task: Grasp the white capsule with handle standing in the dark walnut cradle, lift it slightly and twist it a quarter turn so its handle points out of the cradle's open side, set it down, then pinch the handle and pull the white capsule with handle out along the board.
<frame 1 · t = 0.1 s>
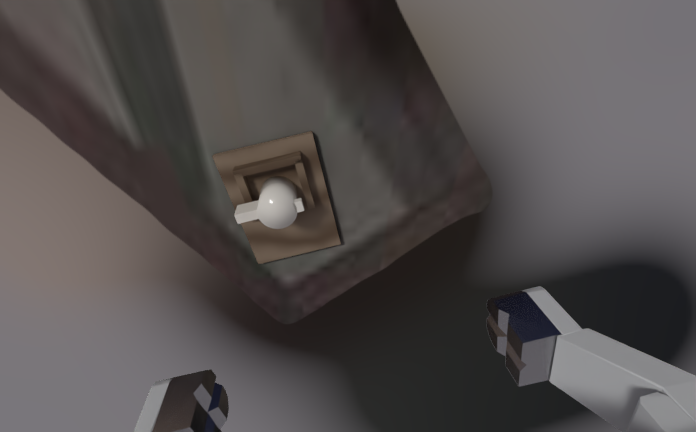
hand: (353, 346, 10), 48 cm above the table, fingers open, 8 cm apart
white capsule with handle: (279, 192, 58), point 1 cm above the table, touching cradle board
cradle board: (281, 197, 60), on the table
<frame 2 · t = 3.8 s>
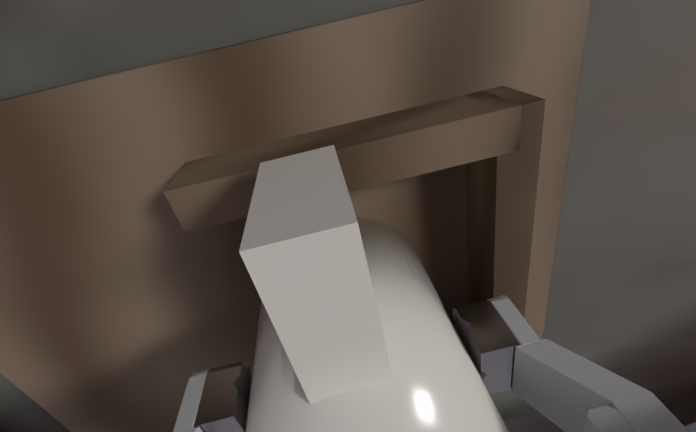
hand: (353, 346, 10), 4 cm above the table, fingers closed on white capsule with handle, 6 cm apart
white capsule with handle: (343, 284, 13), point 1 cm above the table, touching cradle board, gripper
cradle board: (301, 265, 14), on the table
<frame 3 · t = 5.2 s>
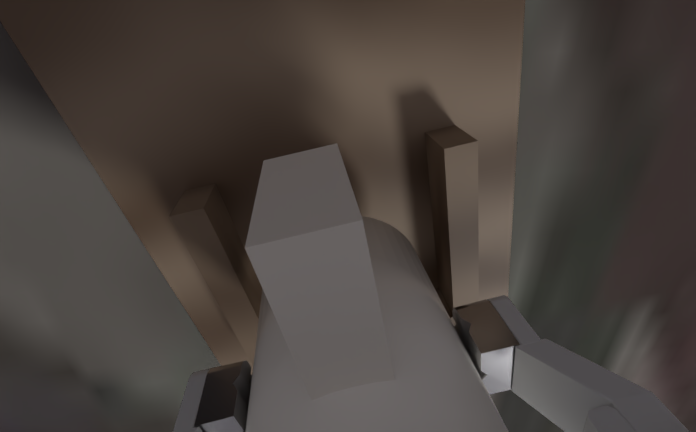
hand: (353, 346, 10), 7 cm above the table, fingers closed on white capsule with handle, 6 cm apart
white capsule with handle: (343, 282, 13), point 4 cm above the table, touching gripper
cradle board: (329, 191, 15), on the table
when the fingers open (4 cm above the table, at t = 6.6 s): white capsule with handle stays where it is, resting on cradle board.
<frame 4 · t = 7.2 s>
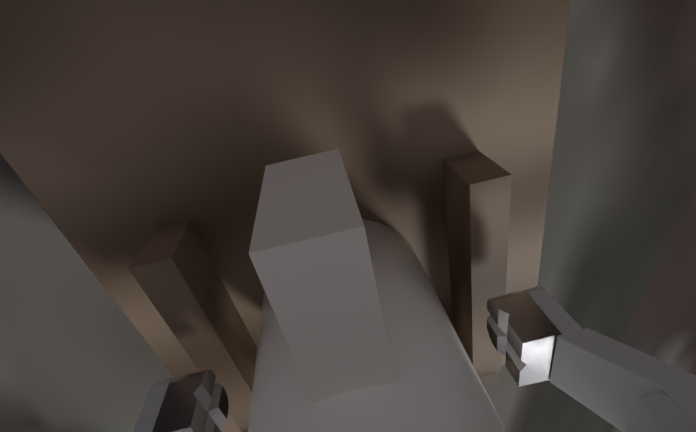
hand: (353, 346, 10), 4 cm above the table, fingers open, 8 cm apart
white capsule with handle: (344, 285, 13), point 1 cm above the table, touching cradle board
cradle board: (328, 224, 13), on the table
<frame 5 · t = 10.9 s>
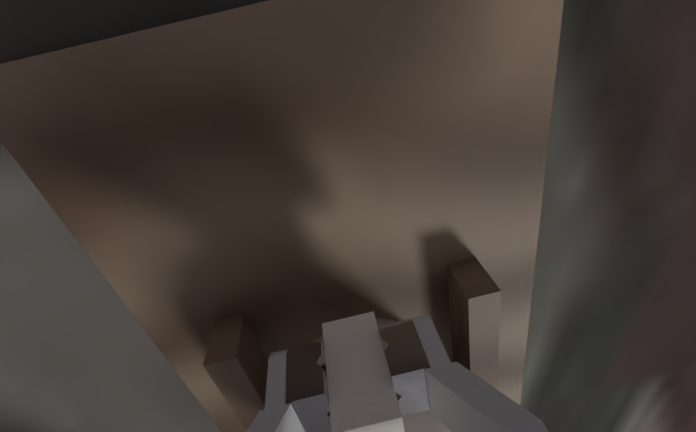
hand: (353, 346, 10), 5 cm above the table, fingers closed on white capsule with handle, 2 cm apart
white capsule with handle: (364, 364, 16), point 1 cm above the table, touching cradle board, gripper
cradle board: (351, 306, 16), on the table
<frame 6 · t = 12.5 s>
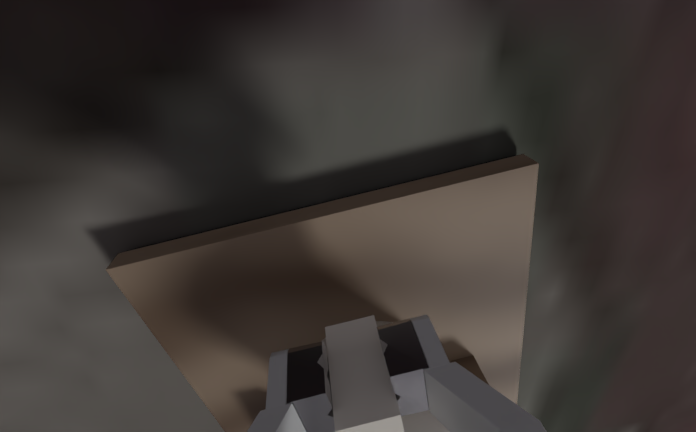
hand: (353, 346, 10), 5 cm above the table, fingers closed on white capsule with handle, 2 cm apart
white capsule with handle: (367, 365, 17), point 1 cm above the table, touching gripper
cradle board: (372, 386, 19), on the table
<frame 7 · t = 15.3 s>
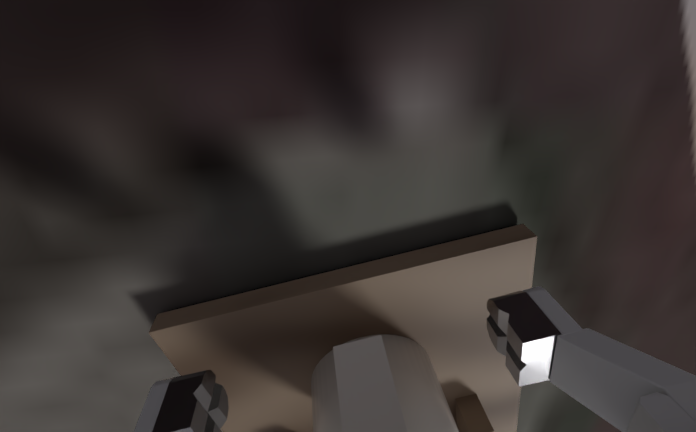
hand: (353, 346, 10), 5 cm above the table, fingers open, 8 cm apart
white capsule with handle: (371, 376, 17), point 1 cm above the table, touching cradle board
cradle board: (382, 418, 21), on the table
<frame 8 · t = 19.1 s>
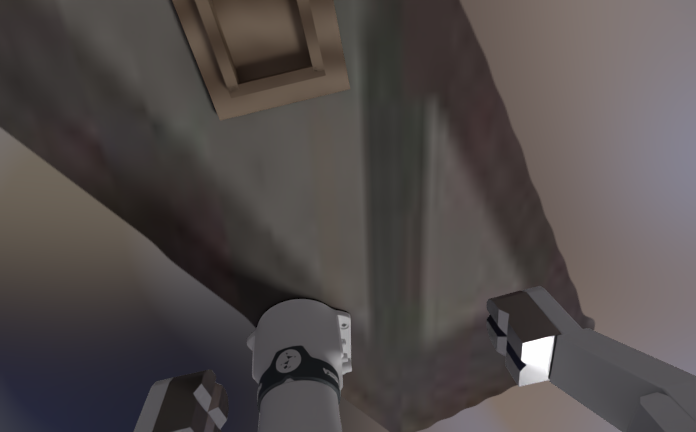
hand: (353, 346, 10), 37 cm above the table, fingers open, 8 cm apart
cradle board: (258, 9, 37), on the table
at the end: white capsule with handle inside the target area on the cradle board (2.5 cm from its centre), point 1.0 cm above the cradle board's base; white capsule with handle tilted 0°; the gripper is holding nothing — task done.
